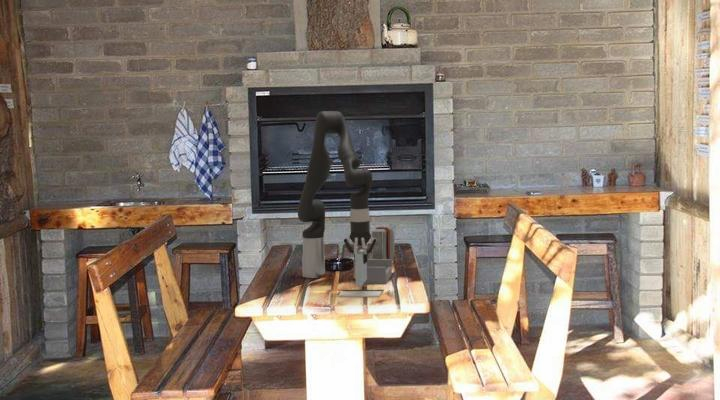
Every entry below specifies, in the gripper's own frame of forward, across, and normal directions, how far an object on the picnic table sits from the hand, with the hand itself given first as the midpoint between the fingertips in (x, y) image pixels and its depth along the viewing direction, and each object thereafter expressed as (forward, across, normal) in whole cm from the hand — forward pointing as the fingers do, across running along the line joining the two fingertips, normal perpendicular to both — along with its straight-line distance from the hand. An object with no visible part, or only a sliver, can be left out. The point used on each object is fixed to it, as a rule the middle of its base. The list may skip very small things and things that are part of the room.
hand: (361, 263), depth 353 cm
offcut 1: (+9, -2, +21) cm, 23 cm away
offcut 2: (+11, -2, +21) cm, 24 cm away
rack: (+12, +2, +21) cm, 24 cm away
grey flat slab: (+8, 0, 0) cm, 8 cm away
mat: (+12, 0, 0) cm, 12 cm away
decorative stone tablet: (+12, +2, +50) cm, 51 cm away
